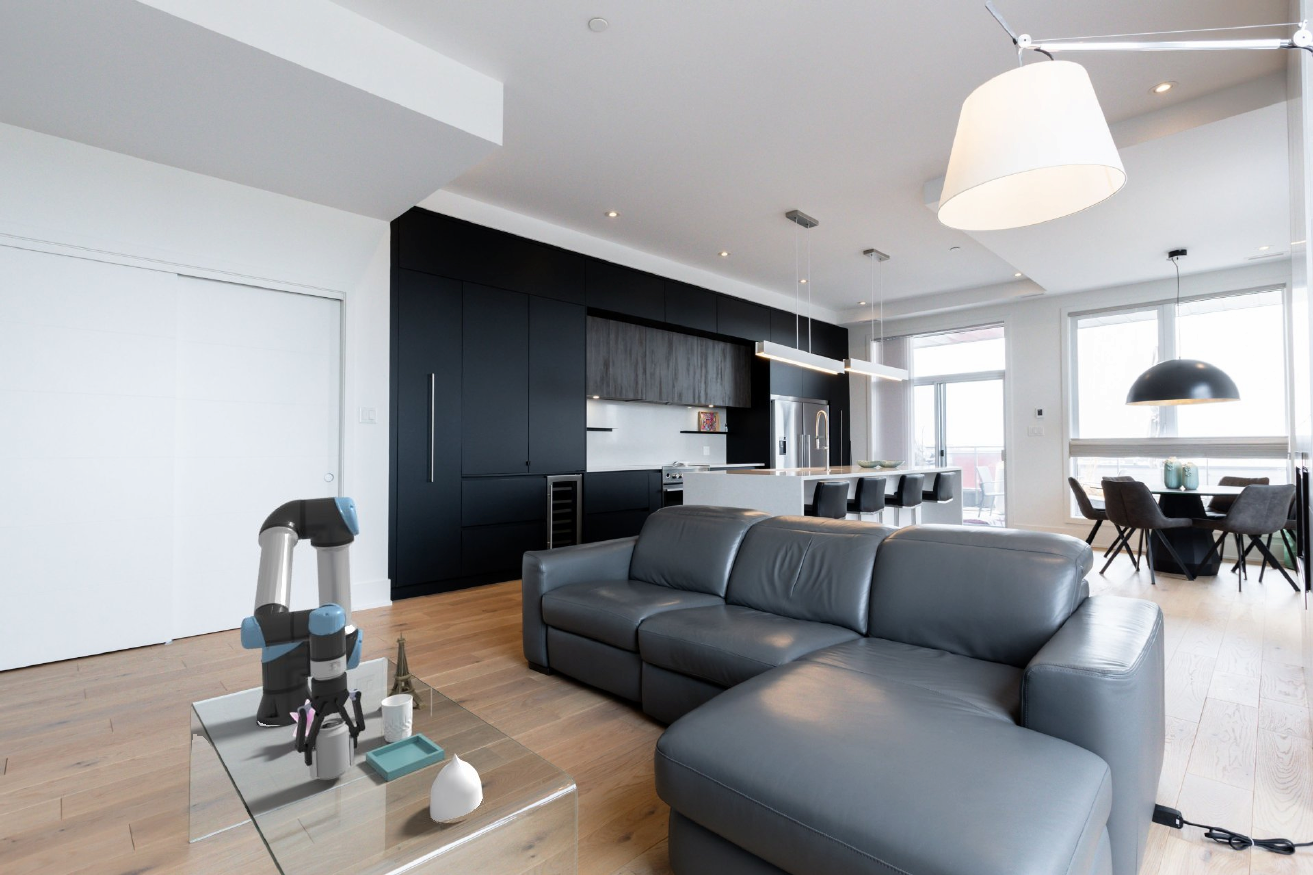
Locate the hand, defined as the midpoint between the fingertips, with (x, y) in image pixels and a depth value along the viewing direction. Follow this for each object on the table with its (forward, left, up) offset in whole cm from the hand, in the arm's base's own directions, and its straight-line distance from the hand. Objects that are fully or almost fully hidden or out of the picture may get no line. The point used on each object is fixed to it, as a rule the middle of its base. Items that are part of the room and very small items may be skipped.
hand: (332, 770), depth 148 cm
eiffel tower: (-29, +29, -3) cm, 41 cm away
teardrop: (+33, +15, -3) cm, 36 cm away
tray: (+3, +16, -3) cm, 16 cm away
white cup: (-11, +20, -3) cm, 23 cm away
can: (0, 0, -1) cm, 1 cm away
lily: (-26, +2, -3) cm, 27 cm away
